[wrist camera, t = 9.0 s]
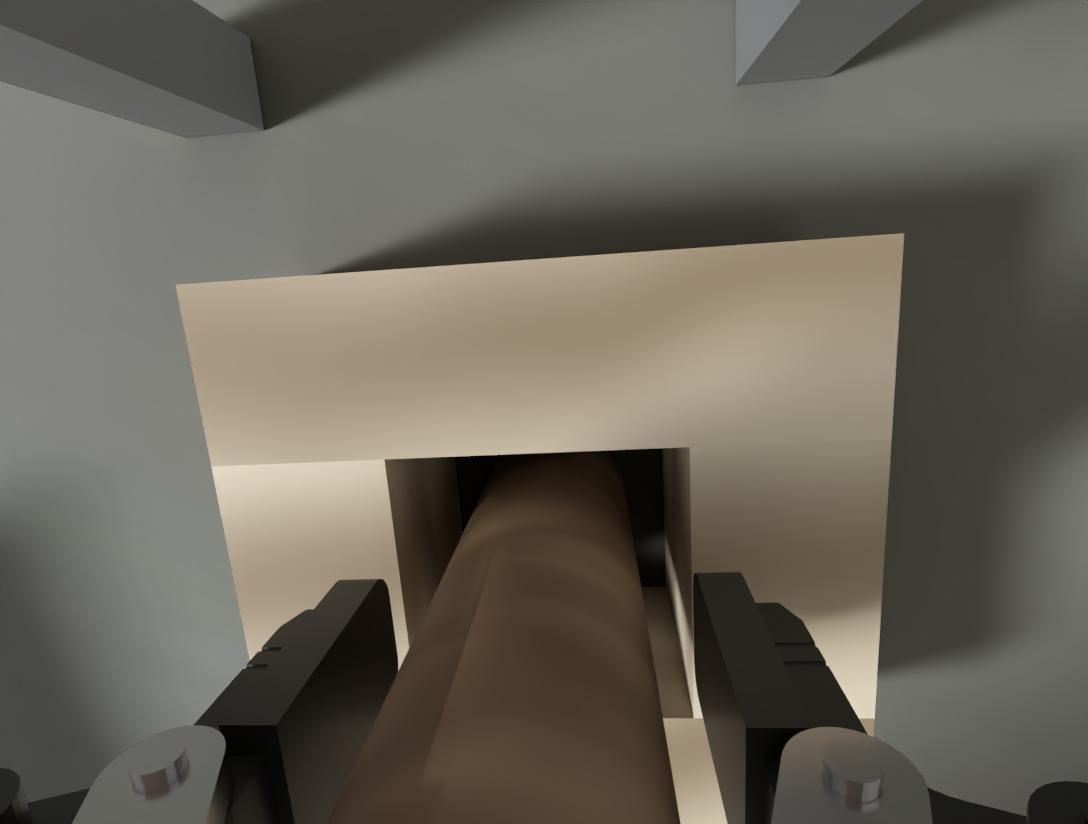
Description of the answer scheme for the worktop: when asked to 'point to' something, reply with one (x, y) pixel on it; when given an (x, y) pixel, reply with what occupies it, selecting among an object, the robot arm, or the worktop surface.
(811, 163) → the worktop surface
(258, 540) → the socket
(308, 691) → the robot arm
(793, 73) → the wooden top bench
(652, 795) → the peg
